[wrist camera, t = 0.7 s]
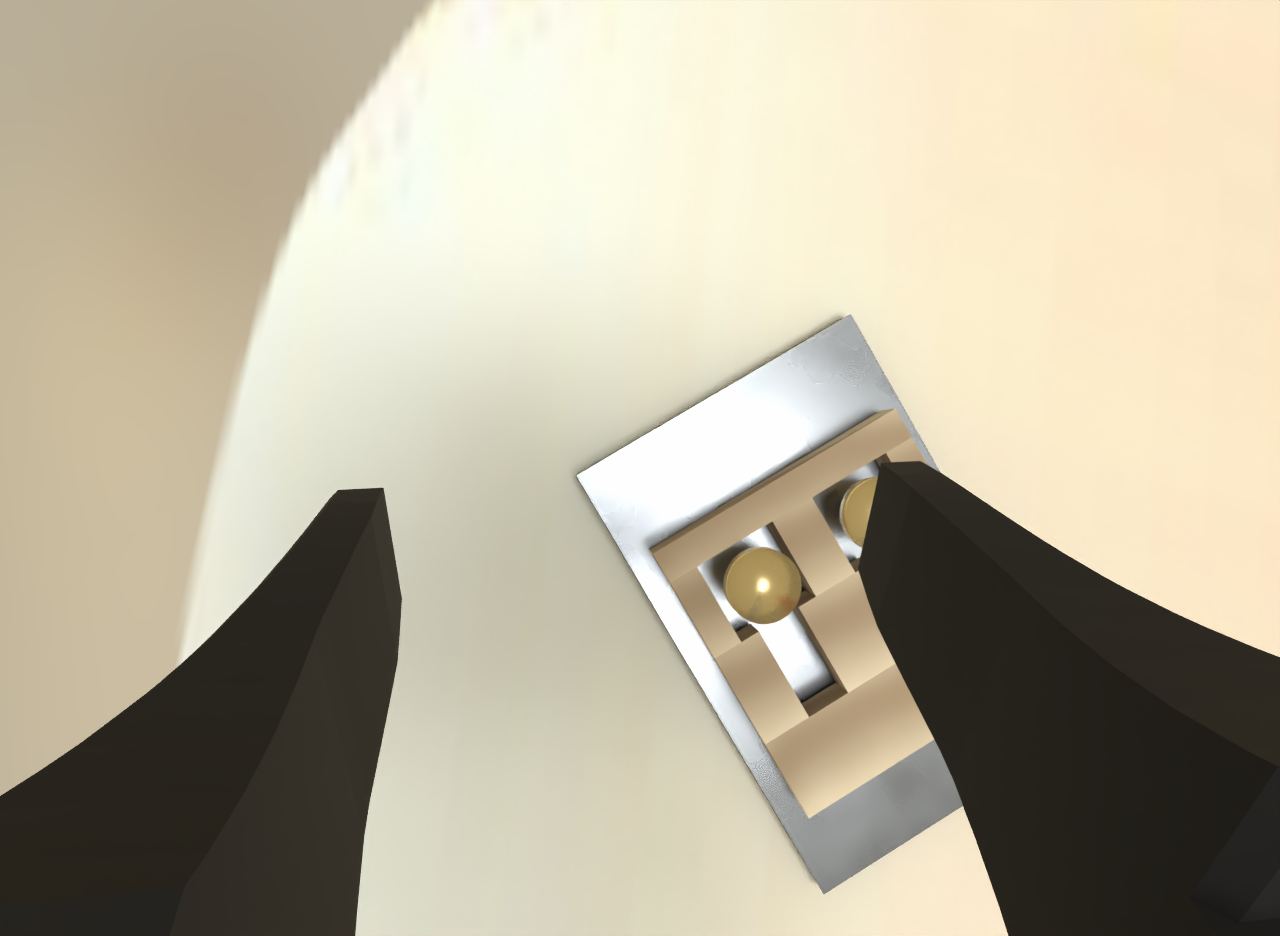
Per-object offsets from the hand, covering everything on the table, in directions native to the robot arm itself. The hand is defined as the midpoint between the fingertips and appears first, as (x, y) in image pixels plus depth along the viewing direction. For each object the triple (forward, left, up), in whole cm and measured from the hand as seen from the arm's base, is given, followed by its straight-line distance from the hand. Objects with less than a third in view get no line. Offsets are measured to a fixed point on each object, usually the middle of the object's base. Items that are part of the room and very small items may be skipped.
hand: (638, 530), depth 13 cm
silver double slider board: (-9, -6, -23) cm, 26 cm away
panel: (-9, -6, -22) cm, 25 cm away
